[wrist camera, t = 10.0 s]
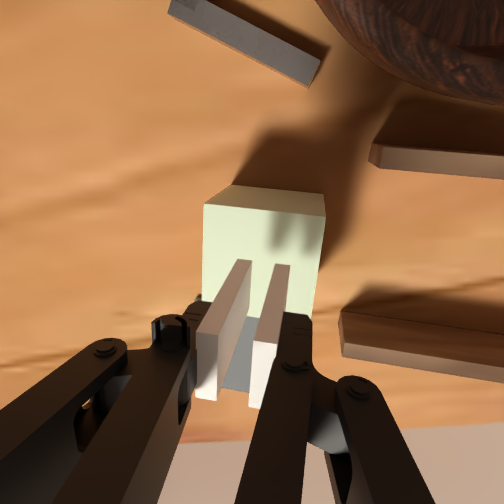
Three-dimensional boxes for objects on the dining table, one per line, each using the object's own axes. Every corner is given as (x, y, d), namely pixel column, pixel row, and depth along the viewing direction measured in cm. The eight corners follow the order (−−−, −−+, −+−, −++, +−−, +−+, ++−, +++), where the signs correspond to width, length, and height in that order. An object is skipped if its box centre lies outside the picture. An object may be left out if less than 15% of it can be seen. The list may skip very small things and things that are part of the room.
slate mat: (196, 296, 30) (194, 299, 30) (299, 312, 29) (299, 315, 28) (195, 379, 33) (193, 382, 33) (287, 396, 32) (287, 399, 32)
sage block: (231, 184, 26) (203, 203, 20) (323, 193, 25) (326, 216, 19) (227, 268, 29) (201, 309, 22) (311, 279, 28) (309, 325, 21)
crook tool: (308, 88, 23) (307, 86, 22) (176, 20, 23) (167, 13, 22) (343, 15, 22) (346, 7, 20) (202, -59, 21) (193, -73, 20)
